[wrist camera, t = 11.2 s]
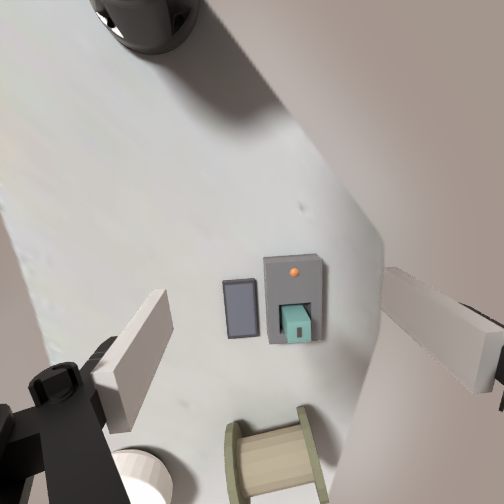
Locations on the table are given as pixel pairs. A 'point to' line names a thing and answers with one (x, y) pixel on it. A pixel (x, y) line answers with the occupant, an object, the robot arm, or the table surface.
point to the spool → (271, 461)
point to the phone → (240, 308)
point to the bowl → (143, 477)
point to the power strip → (293, 291)
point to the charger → (295, 323)
